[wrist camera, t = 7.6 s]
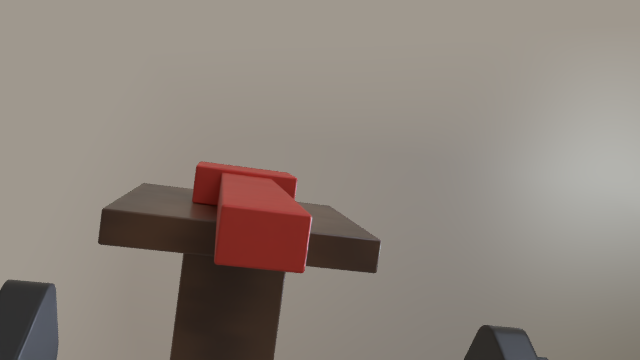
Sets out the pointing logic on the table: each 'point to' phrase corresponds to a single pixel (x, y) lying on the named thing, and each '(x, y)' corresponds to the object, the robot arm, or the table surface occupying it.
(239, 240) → the red mallet
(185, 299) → the wooden pedestal stand
